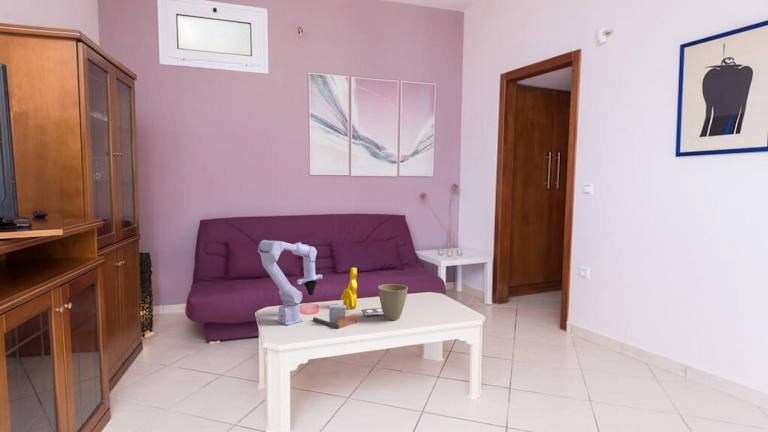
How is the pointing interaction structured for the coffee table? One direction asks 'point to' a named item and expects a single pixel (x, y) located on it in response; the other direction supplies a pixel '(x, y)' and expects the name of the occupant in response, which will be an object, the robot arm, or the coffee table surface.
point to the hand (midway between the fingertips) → (310, 294)
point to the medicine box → (336, 312)
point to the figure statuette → (350, 291)
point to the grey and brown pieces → (338, 321)
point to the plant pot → (392, 300)
